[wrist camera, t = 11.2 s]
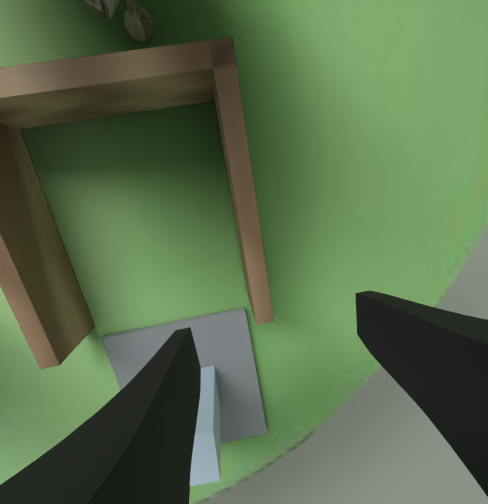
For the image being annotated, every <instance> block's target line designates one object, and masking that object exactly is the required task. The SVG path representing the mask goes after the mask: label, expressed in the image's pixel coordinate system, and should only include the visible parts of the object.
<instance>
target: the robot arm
mask: <svg viewBox="0 0 488 504" xmlns="http://www.w3.org/2000/svg"><path fill="white" fill-rule="evenodd" d="M356 314H357V334H358V336H359V337H360V339H361V340H362V342H363V343H364V345H365V346H366V347H367V349H368V350H369V352H370V353H371V354H372V355H373V357H374V358H375V359H376V360H377V361H378V362H379V363H380V364H381V365H382V367H383V368H384V369H385V370H386V371H387V372H388V373H389V374H390V375H391V376H392V377H393V378H394V379H395V381H396V382H397V383H398V384H399V385H400V386H401V387H402V388H403V389H404V390H405V391H406V393H408V395H409V396H410V397H411V398H412V399H413V400H414V401H415V402H416V403H417V405H418V406H419V407H420V408H421V409H422V410H423V412H424V413H425V414H426V415H427V416H428V417H429V418H430V420H431V421H432V423H433V424H434V425H435V426H436V428H437V429H438V430H439V432H440V433H441V434H442V435H443V437H444V438H445V439H446V441H447V442H448V443H449V444H450V445H451V447H452V448H453V450H454V451H455V453H456V454H457V455H458V457H459V458H460V459H461V460H462V462H463V463H464V465H465V466H466V467H467V469H468V470H469V471H470V473H471V474H472V475H473V477H474V478H475V479H476V481H477V482H478V484H479V485H480V486H481V488H482V489H483V491H484V492H485V493H486V495H487V496H488V320H486V319H480V318H475V317H471V316H467V315H462V314H458V313H454V312H450V311H445V310H441V309H438V308H434V307H430V306H426V305H423V304H419V303H415V302H412V301H408V300H405V299H401V298H398V297H394V296H390V295H387V294H383V293H379V292H374V291H365V292H360V293H356ZM200 392H201V366H200V362H199V358H198V355H197V351H196V347H195V343H194V339H193V335H192V331H191V327H188V328H183V329H179V330H175V331H174V333H173V334H172V335H171V336H170V337H169V338H168V339H167V341H166V342H165V343H164V344H163V345H162V347H161V348H160V349H159V350H158V351H157V352H156V354H155V355H154V356H153V357H152V358H151V359H150V360H149V362H148V363H147V364H146V365H145V366H144V367H143V368H142V369H141V370H140V371H139V372H138V373H137V374H136V376H135V377H134V378H133V379H132V380H131V381H130V382H129V383H128V384H127V385H126V386H125V387H124V388H123V389H122V390H121V391H120V392H119V393H118V394H117V395H116V396H115V397H113V398H112V399H111V400H110V401H109V402H108V403H107V404H106V405H105V406H103V407H102V408H101V409H100V410H99V411H98V412H97V413H95V414H94V415H93V416H92V417H91V418H89V419H88V420H87V421H86V422H84V423H83V424H82V425H81V426H79V427H78V428H77V429H76V430H75V431H73V432H72V433H71V434H70V435H68V436H67V437H66V438H65V439H63V440H62V441H61V442H60V443H58V444H57V445H56V446H54V447H53V448H52V449H50V450H49V451H47V452H46V453H45V454H43V455H42V456H41V457H39V458H38V459H37V460H35V461H34V462H32V463H31V464H30V465H28V466H27V467H25V468H24V469H23V470H21V471H20V472H18V473H17V474H15V475H14V476H13V477H11V478H10V479H8V480H7V481H5V482H4V483H2V484H1V485H0V504H189V492H190V472H191V462H192V453H193V445H194V438H195V431H196V423H197V416H198V408H199V400H200Z"/></svg>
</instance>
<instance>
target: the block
mask: <svg viewBox="0 0 488 504" xmlns="http://www.w3.org/2000/svg"><path fill="white" fill-rule="evenodd" d="M217 481H220V403H219V396H218V388H217V381H216V373H215V366H211V367H204V368H201V392H200V400H199V408H198V416H197V423H196V431H195V438H194V445H193V453H192V462H191V472H190V486H195V485H201V484H206V483H212V482H217Z"/></svg>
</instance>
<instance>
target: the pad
mask: <svg viewBox="0 0 488 504" xmlns="http://www.w3.org/2000/svg"><path fill="white" fill-rule="evenodd" d="M188 327H191V331H192V335H193V339H194V343H195V347H196V351H197V355H198V358H199V362H200V366H201V368H204V367H211V366H215V373H216V381H217V388H218V396H219V403H220V444H222V443H226V442H231V441H235V440H239V439H243V438H248V437H252V436H256V435H260V434H265V433H267V428H266V422H265V416H264V411H263V405H262V400H261V394H260V389H259V383H258V378H257V372H256V367H255V361H254V356H253V350H252V345H251V339H250V334H249V328H248V323H247V317H246V312H245V307H244V308H239V309H234V310H229V311H224V312H219V313H214V314H209V315H204V316H199V317H194V318H189V319H184V320H179V321H174V322H170V323H165V324H160V325H155V326H150V327H145V328H140V329H135V330H130V331H125V332H120V333H115V334H110V335H105V336H104V337H103V338H102V341H103V344H104V346H105V349H106V351H107V354H108V357H109V359H110V362H111V365H112V367H113V370H114V373H115V375H116V378H117V381H118V383H119V386H120V388H121V390H122V389H123V388H124V387H125V386H126V385H127V384H128V383H129V382H130V381H131V380H132V379H133V378H134V377H135V376H136V374H137V373H138V372H139V371H140V370H141V369H142V368H143V367H144V366H145V365H146V364H147V363H148V362H149V360H150V359H151V358H152V357H153V356H154V355H155V354H156V352H157V351H158V350H159V349H160V348H161V347H162V345H163V344H164V343H165V342H166V341H167V339H168V338H169V337H170V336H171V335H172V334H173V333H174V331H175V330H179V329H183V328H188Z"/></svg>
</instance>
